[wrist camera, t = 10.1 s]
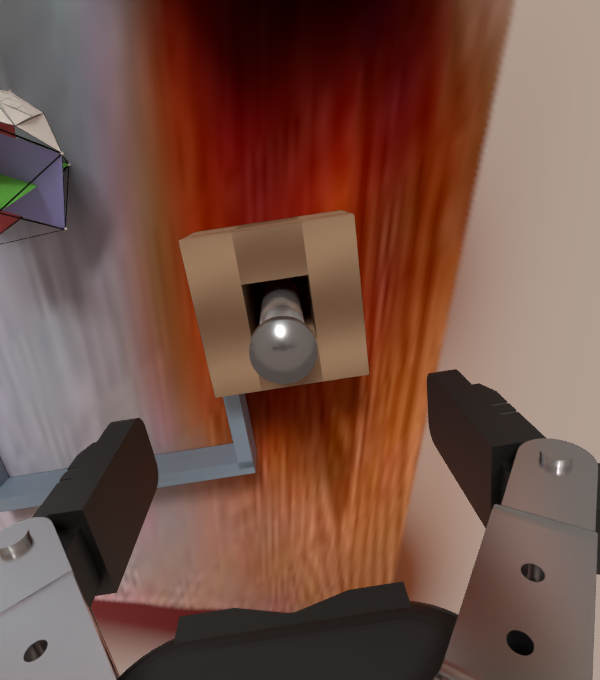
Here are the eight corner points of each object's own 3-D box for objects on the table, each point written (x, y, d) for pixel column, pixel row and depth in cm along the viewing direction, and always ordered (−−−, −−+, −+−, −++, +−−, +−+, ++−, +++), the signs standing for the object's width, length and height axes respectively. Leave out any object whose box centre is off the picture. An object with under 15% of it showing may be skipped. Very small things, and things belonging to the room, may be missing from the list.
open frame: (-62, 359, 27) (-93, 375, 25) (228, 315, 28) (224, 327, 25) (0, 490, 31) (-22, 515, 29) (256, 451, 31) (255, 473, 29)
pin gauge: (255, 274, 27) (243, 325, 17) (298, 268, 27) (313, 315, 17) (262, 316, 28) (255, 388, 18) (304, 310, 28) (321, 378, 18)
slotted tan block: (194, 232, 26) (178, 241, 21) (341, 210, 26) (354, 214, 21) (224, 367, 29) (215, 397, 25) (355, 347, 29) (369, 374, 25)
